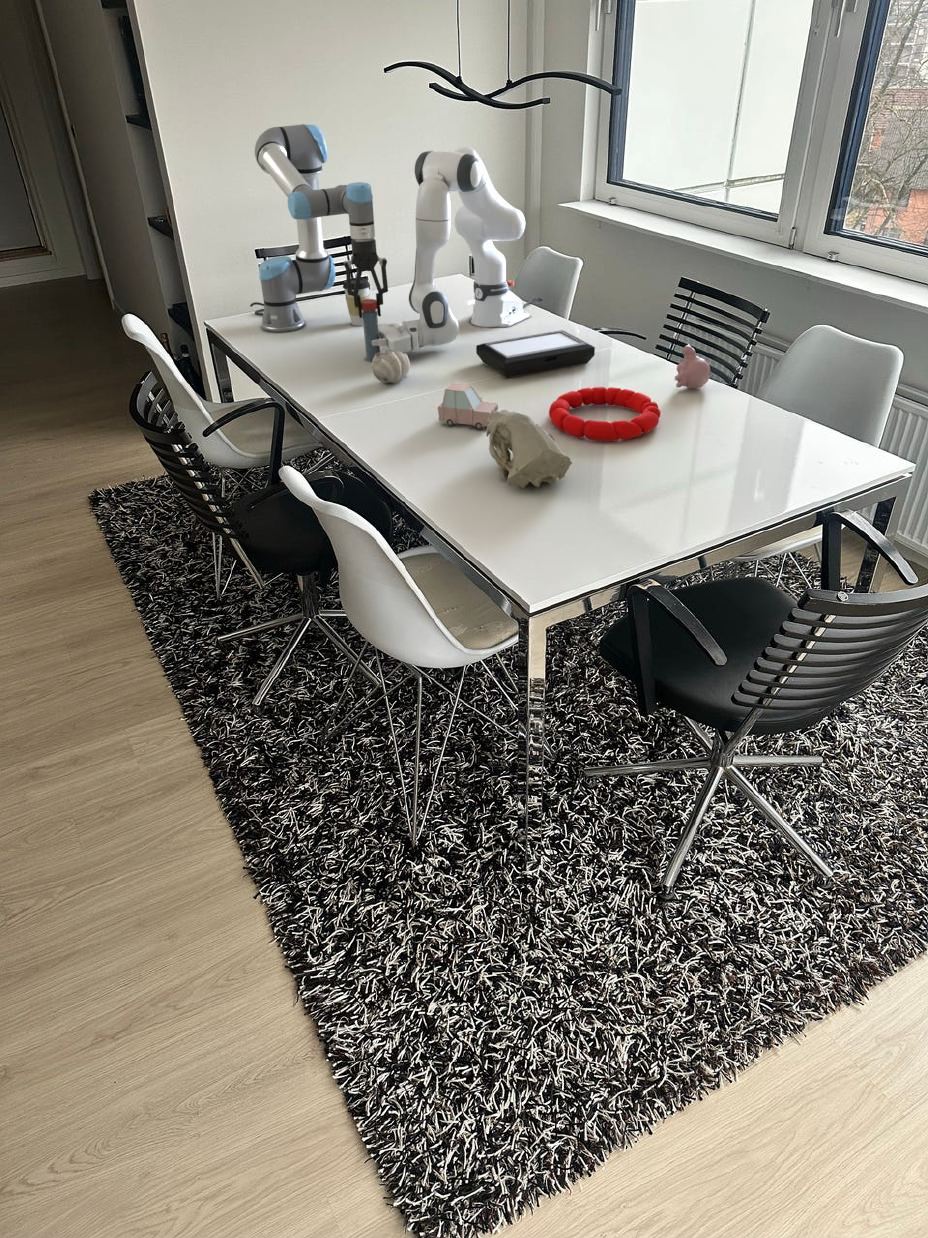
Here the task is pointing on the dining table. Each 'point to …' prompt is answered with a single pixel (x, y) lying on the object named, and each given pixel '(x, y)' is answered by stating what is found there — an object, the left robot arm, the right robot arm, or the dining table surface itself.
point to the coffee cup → (350, 299)
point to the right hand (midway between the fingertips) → (369, 339)
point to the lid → (369, 304)
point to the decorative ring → (604, 428)
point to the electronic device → (535, 353)
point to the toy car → (465, 406)
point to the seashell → (390, 366)
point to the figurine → (692, 370)
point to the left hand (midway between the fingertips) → (369, 315)
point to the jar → (370, 333)
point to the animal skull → (525, 450)
